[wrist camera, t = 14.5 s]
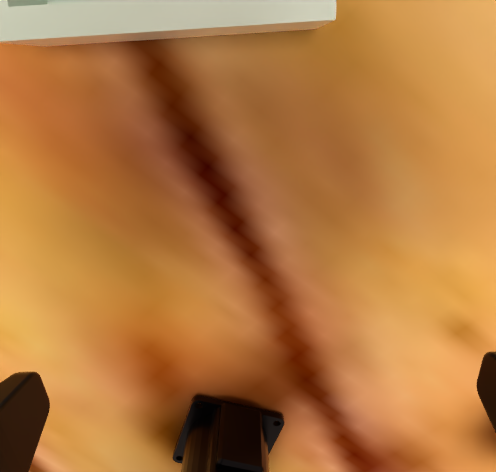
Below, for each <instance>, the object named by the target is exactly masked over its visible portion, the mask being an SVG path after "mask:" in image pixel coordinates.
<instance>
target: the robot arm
mask: <svg viewBox="0 0 496 472" xmlns="http://www.w3.org/2000/svg"><path fill="white" fill-rule="evenodd" d="M477 391H478V394H479V397H480V399H481V401H482V404H483V406H484V408H485V410H486V412H487V415H488V417H489V419H490V421H491V423H492V426H493V428H494V430H495V432H496V352H488V353H486V354H485V355H484V357H483V360H482V364H481V368H480V372H479V376H478V379H477ZM198 403H201V404H198ZM49 408H50V403H49V398H48V395H47V393H46V390H45V387H44V385H43V382H42V379H41V377H40V375H39V374H38V373H37V372H18V373H15V374H13V375H11V376H10V377H8V378H7V379H5V380H4V381H2V382H1V383H0V472H28V471H29V468H30V466H31V463H32V460H33V457H34V454H35V451H36V448H37V445H38V442H39V439H40V436H41V434H42V431H43V428H44V425H45V422H46V419H47V416H48V413H49ZM283 426H284V417H283V416H282V415H281V414H279V413H274V412H270V411H266V410H261V409H257V408H252V407H248V406H244V405H239V404H235V403H231V402H226V401H222V400H218V399H213V398H209V397H205V396H195V397H194V398H193V399H192V402H191V405H190V408H189V410H188V413H187V416H186V419H185V422H184V424H183V427H182V430H181V433H180V436H179V439H178V441H177V444H176V447H175V450H174V453H173V460H174V461H175V462H178V463H182V468H181V472H269V459H268V455H269V453H270V451H271V449H272V447H273V445H274V443H275V441H276V439H277V437H278V435H279V433H280V431H281V430H282V428H283Z"/></svg>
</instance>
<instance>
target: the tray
mask: <svg viewBox="0 0 496 472" xmlns="http://www.w3.org/2000/svg"><path fill="white" fill-rule="evenodd" d="M334 20H336V0H0V43H7V44H20V45H32V46H45V47H46V46H62V45H77V44H93V43H108V42H124V41H139V40H155V39H171V38H186V37H202V36H217V35H233V34H249V33H264V32H280V31H295V30H311V29H318V28H320V27H322V26H324V25H326V24H328V23H330V22H332V21H334Z"/></svg>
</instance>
